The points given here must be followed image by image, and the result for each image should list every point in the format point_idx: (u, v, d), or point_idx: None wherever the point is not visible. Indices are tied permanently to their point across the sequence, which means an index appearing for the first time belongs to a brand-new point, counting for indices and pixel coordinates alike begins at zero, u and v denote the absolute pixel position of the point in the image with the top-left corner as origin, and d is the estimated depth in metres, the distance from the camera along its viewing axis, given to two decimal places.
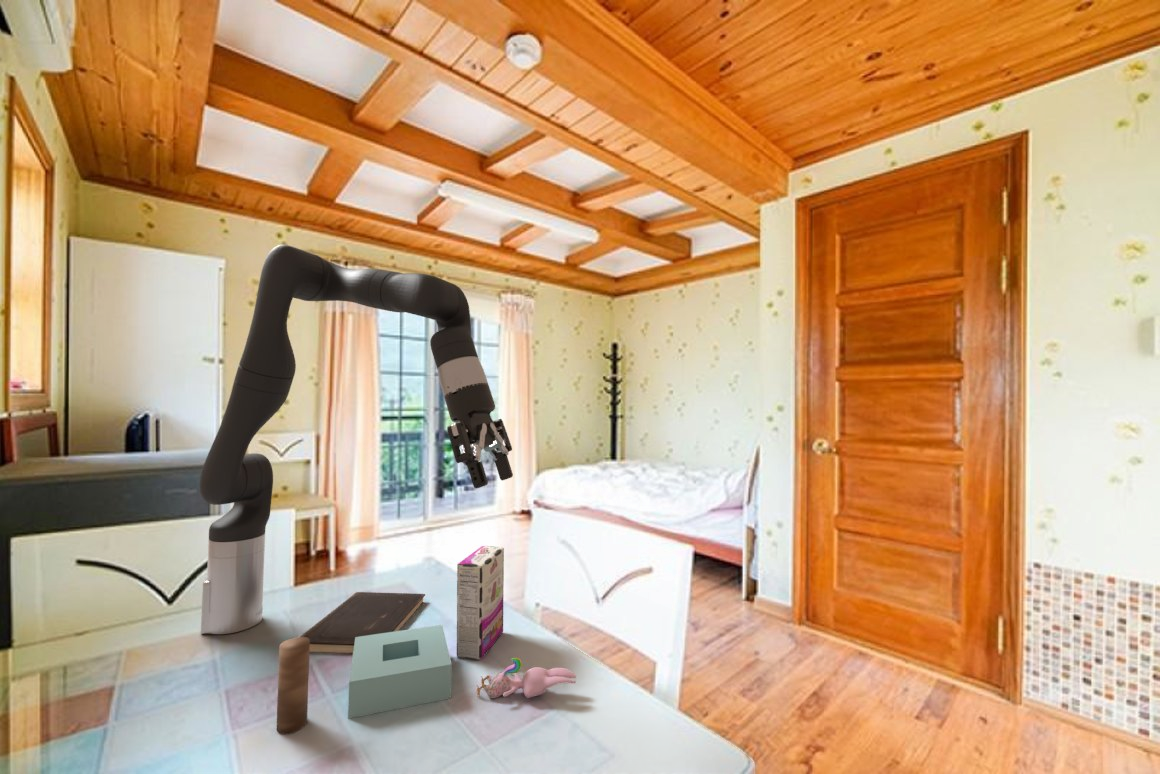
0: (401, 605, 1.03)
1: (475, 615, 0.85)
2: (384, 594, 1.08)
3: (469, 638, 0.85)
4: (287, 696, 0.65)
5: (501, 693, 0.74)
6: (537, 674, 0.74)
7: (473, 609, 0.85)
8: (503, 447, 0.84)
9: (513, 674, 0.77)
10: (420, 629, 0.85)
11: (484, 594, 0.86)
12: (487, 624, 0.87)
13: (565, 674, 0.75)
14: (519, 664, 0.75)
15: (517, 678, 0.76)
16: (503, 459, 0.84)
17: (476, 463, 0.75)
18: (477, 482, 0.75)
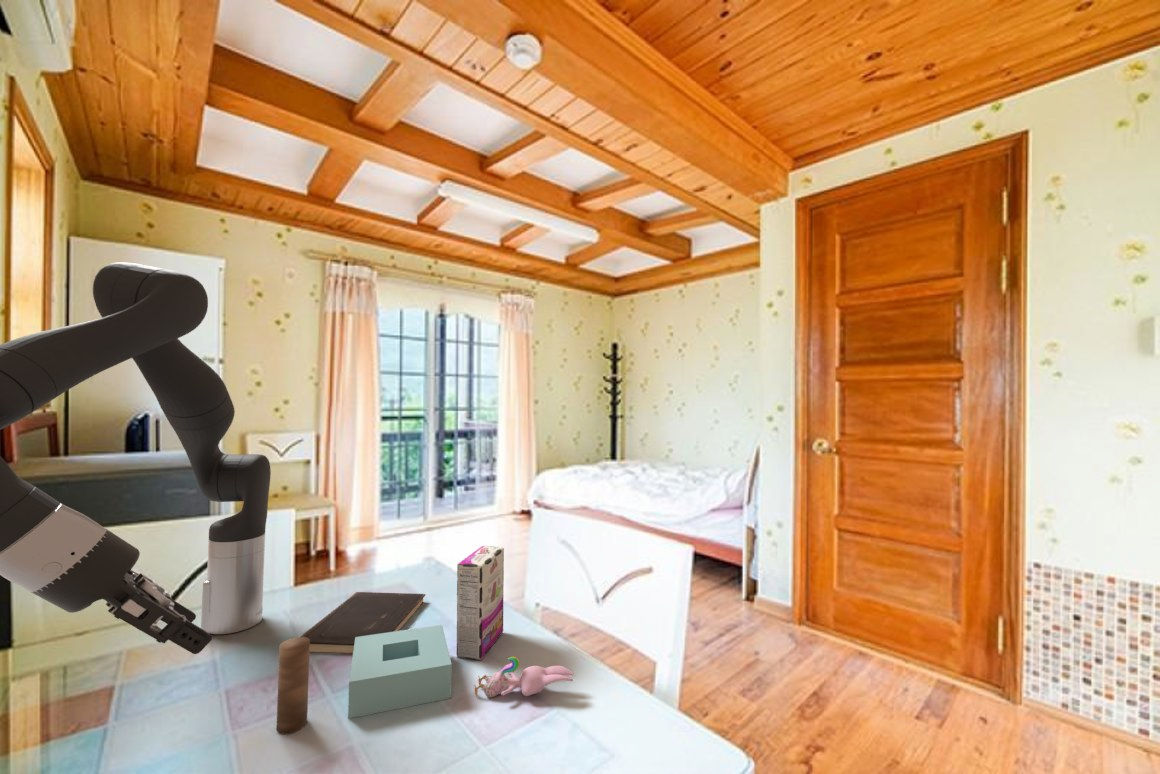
0: (401, 605, 1.03)
1: (475, 615, 0.85)
2: (384, 594, 1.08)
3: (469, 638, 0.85)
4: (287, 696, 0.65)
5: (499, 692, 0.74)
6: (534, 672, 0.74)
7: (473, 609, 0.85)
8: None
9: (510, 673, 0.78)
10: (420, 629, 0.85)
11: (484, 594, 0.86)
12: (487, 624, 0.87)
13: (562, 672, 0.76)
14: (516, 663, 0.75)
15: (514, 677, 0.76)
16: None
17: None
18: None
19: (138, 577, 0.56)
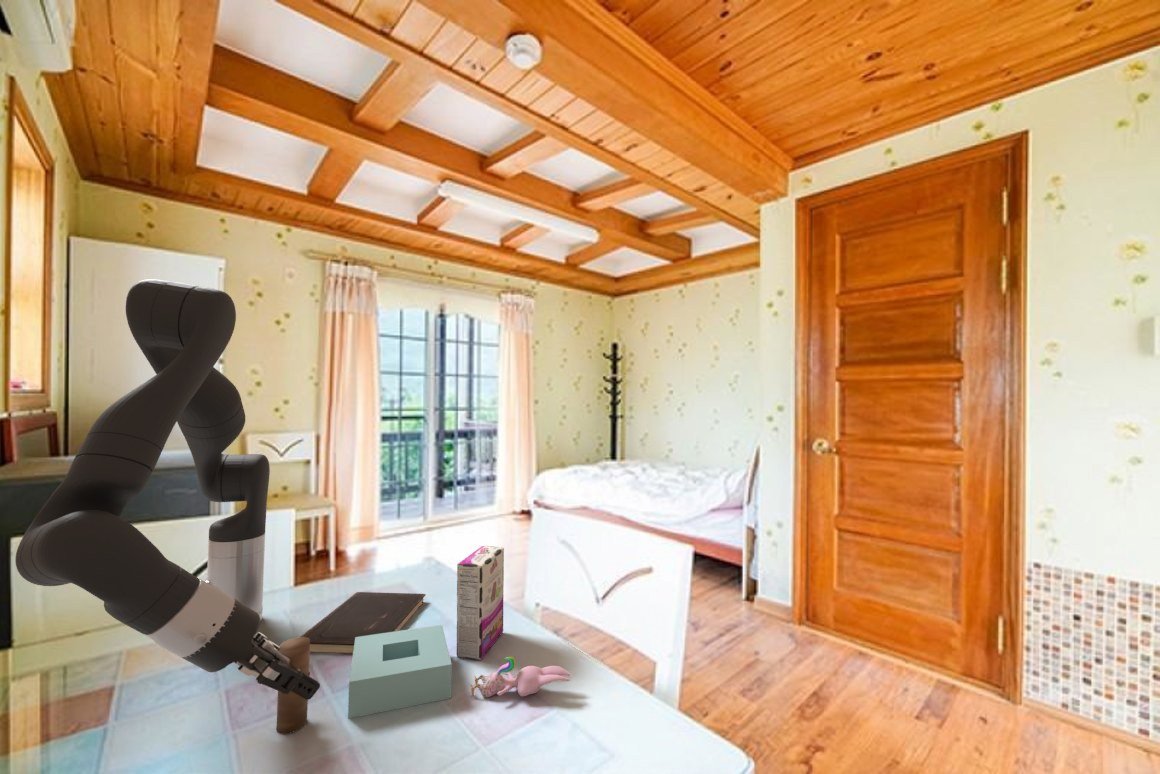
0: (401, 605, 1.03)
1: (475, 615, 0.85)
2: (384, 594, 1.08)
3: (469, 638, 0.85)
4: (287, 696, 0.65)
5: (495, 692, 0.74)
6: (531, 673, 0.74)
7: (473, 609, 0.85)
8: None
9: (506, 673, 0.78)
10: (420, 629, 0.85)
11: (484, 594, 0.86)
12: (487, 624, 0.87)
13: (559, 672, 0.76)
14: (513, 663, 0.75)
15: (510, 677, 0.76)
16: None
17: None
18: None
19: (256, 635, 0.65)
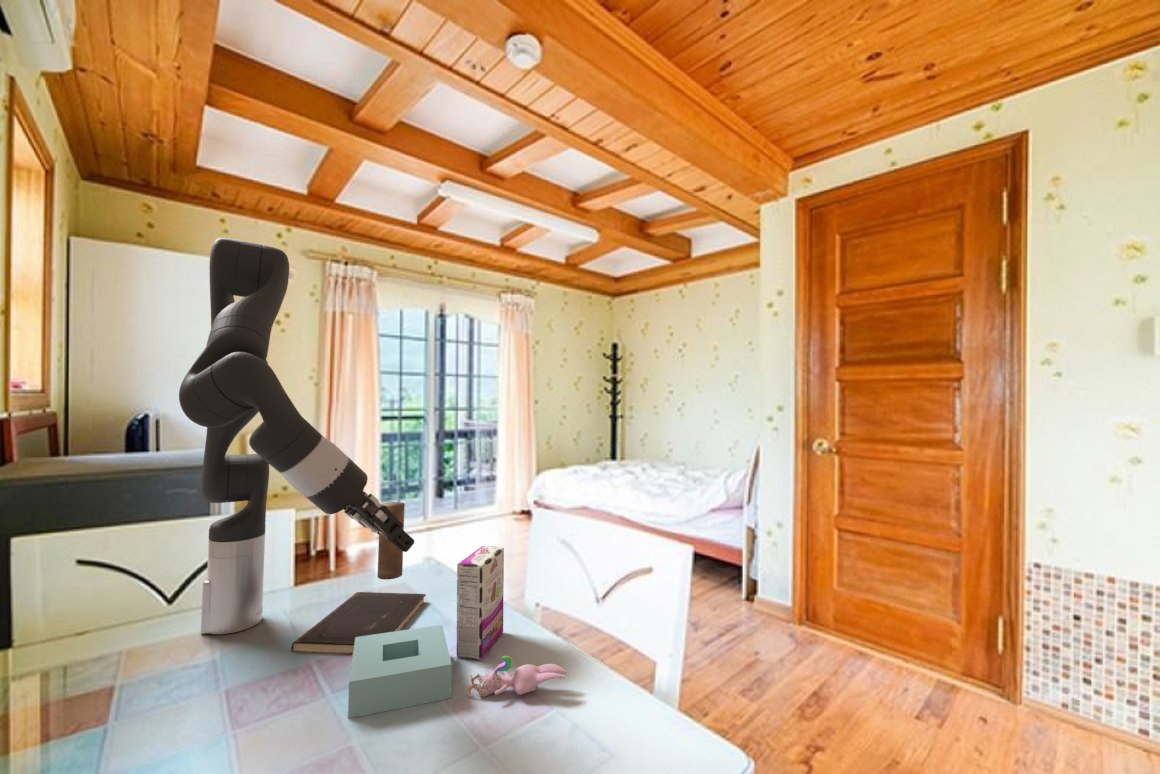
0: (401, 605, 1.03)
1: (475, 615, 0.85)
2: (385, 594, 1.08)
3: (469, 638, 0.85)
4: (387, 547, 0.75)
5: (492, 691, 0.74)
6: (528, 671, 0.75)
7: (473, 609, 0.85)
8: (381, 533, 0.73)
9: (503, 672, 0.78)
10: (420, 629, 0.85)
11: (484, 594, 0.86)
12: (487, 624, 0.87)
13: (555, 670, 0.76)
14: (509, 662, 0.75)
15: (507, 676, 0.77)
16: None
17: (378, 530, 0.78)
18: None
19: None
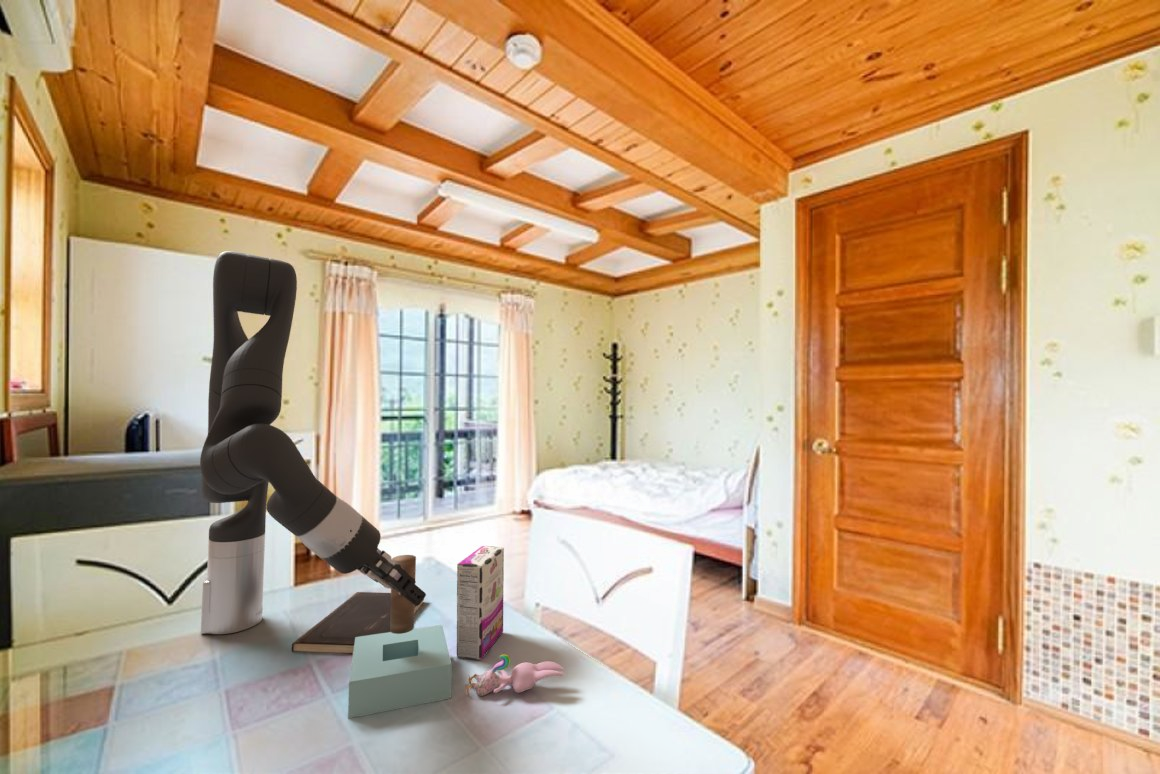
0: None
1: (475, 615, 0.85)
2: (385, 594, 1.08)
3: (469, 638, 0.85)
4: (400, 601, 0.76)
5: (490, 690, 0.75)
6: (526, 669, 0.75)
7: (473, 609, 0.85)
8: (394, 589, 0.75)
9: (500, 671, 0.78)
10: (420, 629, 0.85)
11: (484, 594, 0.86)
12: (487, 624, 0.87)
13: (553, 667, 0.77)
14: (507, 661, 0.76)
15: (505, 674, 0.77)
16: None
17: None
18: None
19: None
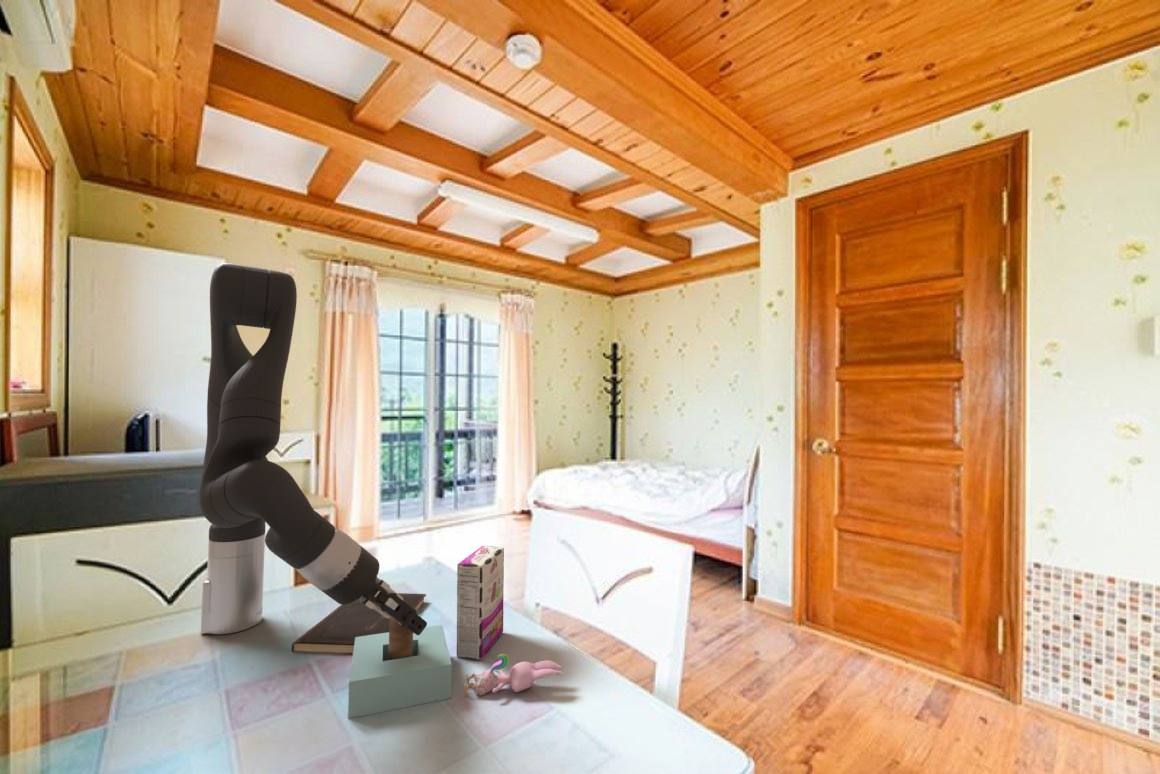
0: None
1: (475, 615, 0.85)
2: None
3: (469, 638, 0.85)
4: (398, 656, 0.76)
5: (489, 690, 0.75)
6: (524, 668, 0.75)
7: (473, 609, 0.85)
8: None
9: (498, 670, 0.78)
10: None
11: (484, 594, 0.86)
12: (487, 624, 0.87)
13: (551, 666, 0.77)
14: (506, 660, 0.76)
15: (503, 674, 0.77)
16: None
17: None
18: None
19: None
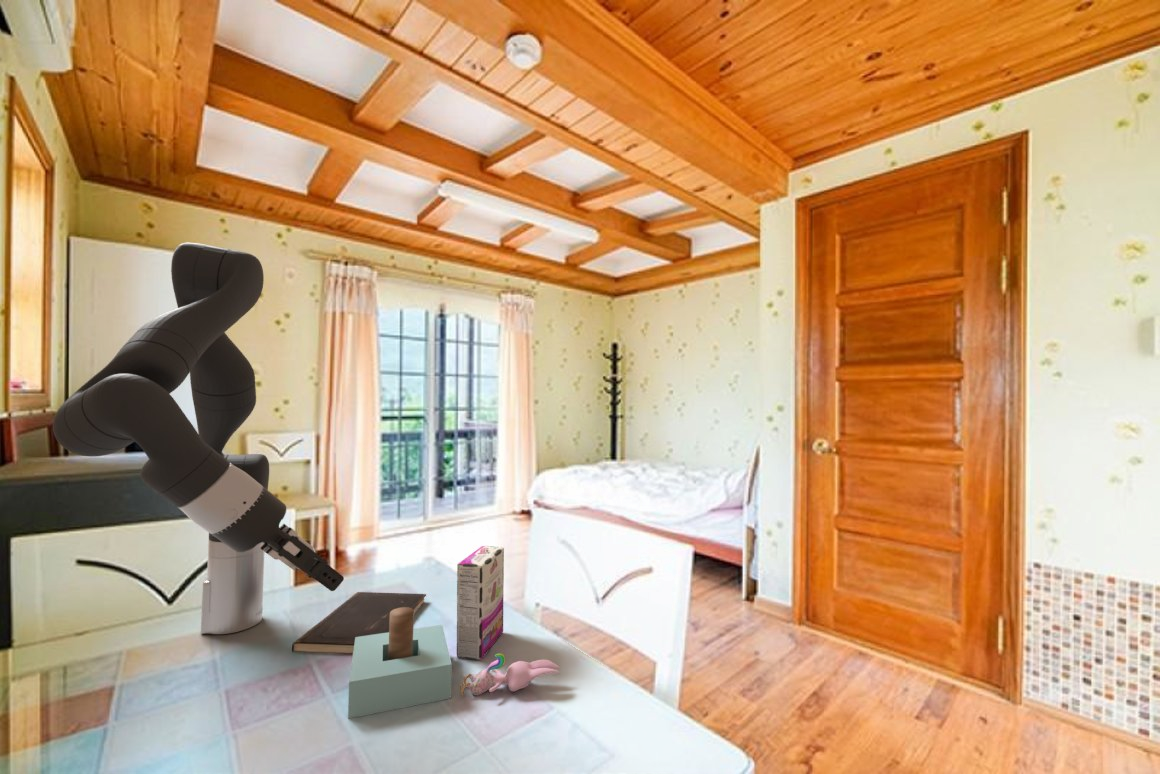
0: (402, 605, 1.03)
1: (475, 615, 0.85)
2: (385, 594, 1.08)
3: (469, 638, 0.85)
4: (397, 656, 0.76)
5: (485, 689, 0.75)
6: (521, 667, 0.76)
7: (473, 609, 0.85)
8: None
9: (494, 670, 0.79)
10: (420, 629, 0.85)
11: (484, 594, 0.86)
12: (487, 624, 0.87)
13: (547, 665, 0.77)
14: (503, 660, 0.76)
15: (499, 674, 0.77)
16: None
17: None
18: None
19: (283, 527, 0.67)
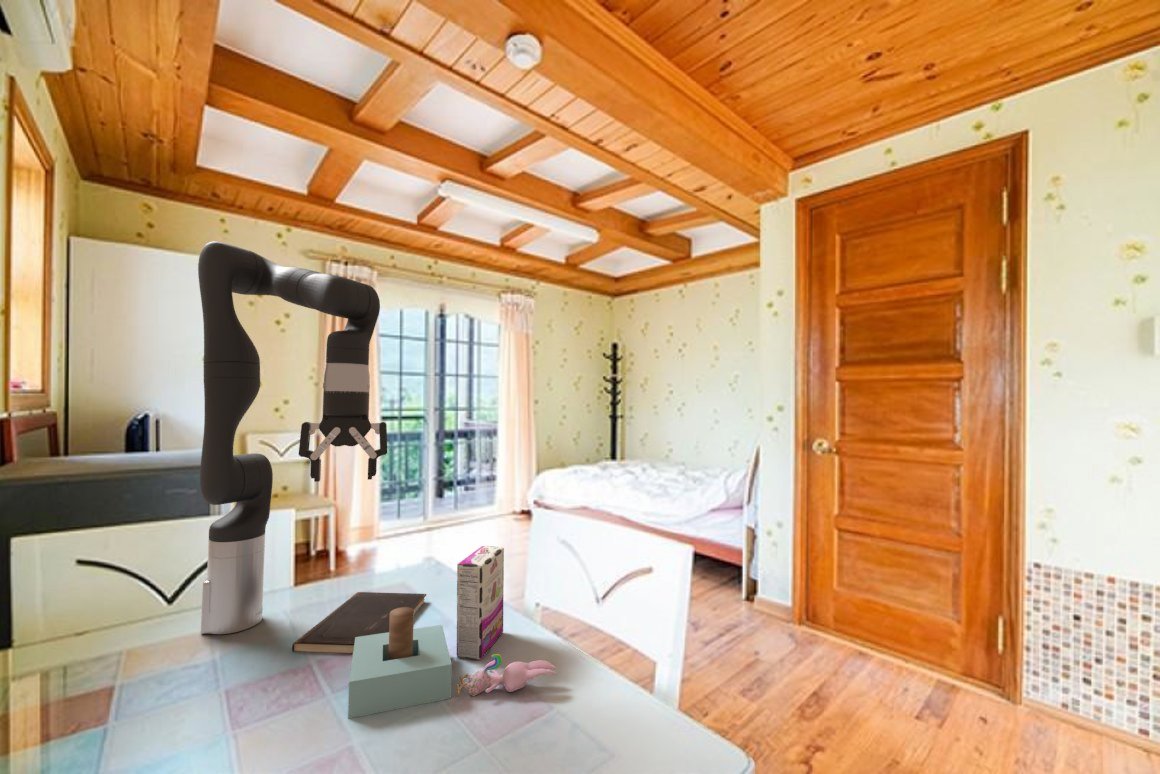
0: (402, 605, 1.03)
1: (475, 615, 0.85)
2: (385, 594, 1.08)
3: (469, 638, 0.85)
4: (397, 656, 0.76)
5: (482, 690, 0.75)
6: (518, 668, 0.75)
7: (473, 609, 0.85)
8: (369, 450, 0.89)
9: (491, 670, 0.78)
10: (420, 629, 0.85)
11: (484, 594, 0.86)
12: (487, 624, 0.87)
13: (544, 666, 0.77)
14: (499, 660, 0.76)
15: (496, 674, 0.77)
16: (368, 461, 0.89)
17: (313, 461, 0.86)
18: (311, 476, 0.86)
19: None
